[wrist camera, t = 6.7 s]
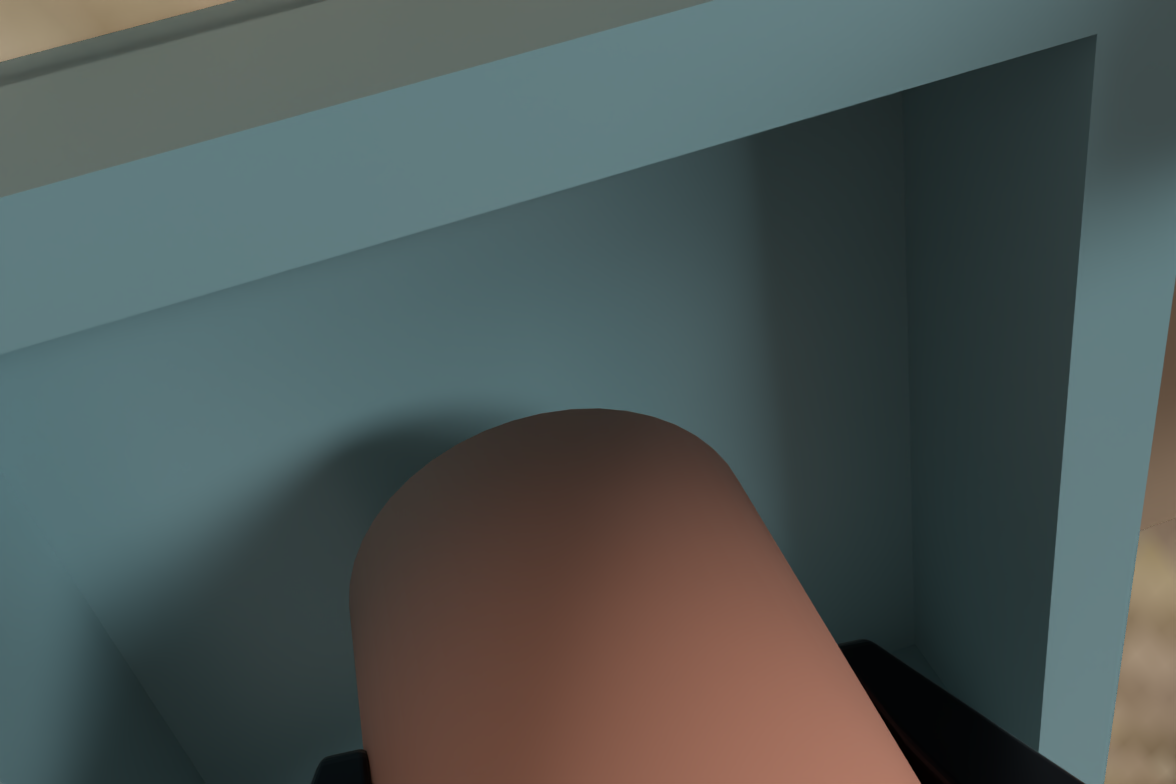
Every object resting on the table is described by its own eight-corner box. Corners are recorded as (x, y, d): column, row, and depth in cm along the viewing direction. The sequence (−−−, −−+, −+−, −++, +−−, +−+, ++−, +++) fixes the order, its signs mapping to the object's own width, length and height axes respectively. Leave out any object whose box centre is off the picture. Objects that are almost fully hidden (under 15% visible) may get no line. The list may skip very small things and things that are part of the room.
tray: (940, 622, 18) (1097, 828, 14) (224, 874, 16) (216, 1165, 13) (938, -185, 11) (1235, -144, 8) (-288, 137, 10) (-574, 357, 6)
